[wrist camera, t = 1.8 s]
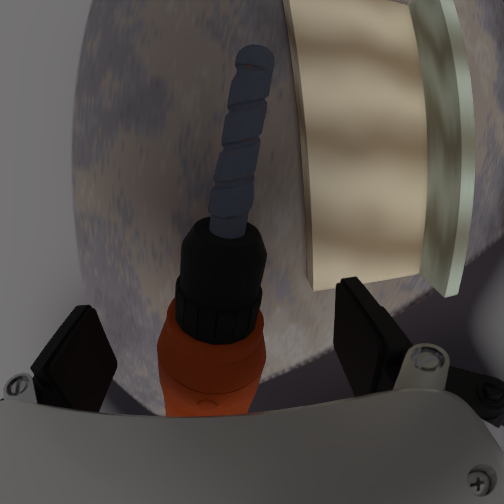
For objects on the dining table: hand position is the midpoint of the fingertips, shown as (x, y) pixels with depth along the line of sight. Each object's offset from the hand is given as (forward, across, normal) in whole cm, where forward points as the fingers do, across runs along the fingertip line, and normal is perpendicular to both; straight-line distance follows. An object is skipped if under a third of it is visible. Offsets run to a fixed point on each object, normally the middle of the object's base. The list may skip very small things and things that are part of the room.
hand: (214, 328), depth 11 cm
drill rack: (+12, -12, -6) cm, 18 cm away
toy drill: (+12, 0, 0) cm, 12 cm away
